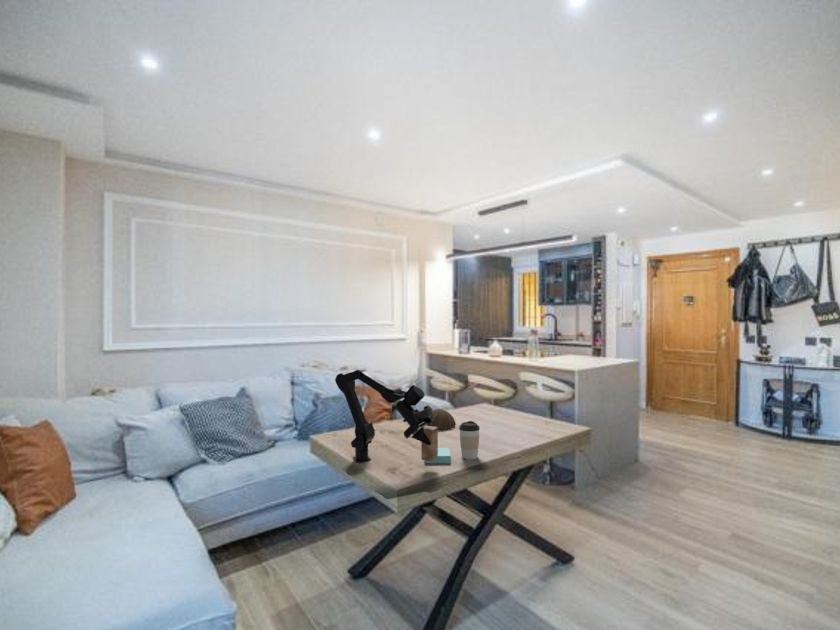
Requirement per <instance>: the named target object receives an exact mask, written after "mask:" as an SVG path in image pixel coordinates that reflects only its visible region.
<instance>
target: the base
mask: <svg viewBox="0 0 840 630" xmlns="http://www.w3.org/2000/svg"><path fill="white" fill-rule="evenodd" d="M450 451H451V450H450V447H438V458H437V459H435V460H434V461H426V460H424V464H451V463H452V462H451V461H452V460H451V456H452V455H451V452H450Z"/></svg>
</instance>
